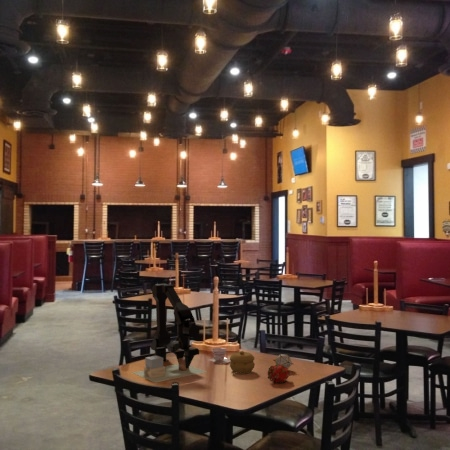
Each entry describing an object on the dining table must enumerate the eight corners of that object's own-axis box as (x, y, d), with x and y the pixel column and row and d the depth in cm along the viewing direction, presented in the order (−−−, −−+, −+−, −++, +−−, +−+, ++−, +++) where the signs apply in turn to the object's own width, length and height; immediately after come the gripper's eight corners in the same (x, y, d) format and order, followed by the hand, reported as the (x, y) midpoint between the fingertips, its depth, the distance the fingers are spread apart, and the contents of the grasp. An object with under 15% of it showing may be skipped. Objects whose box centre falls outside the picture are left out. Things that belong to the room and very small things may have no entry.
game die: (283, 379, 245) (277, 365, 240) (274, 369, 252) (268, 355, 247) (298, 368, 247) (293, 354, 242) (289, 359, 255) (283, 344, 250)
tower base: (144, 374, 241) (143, 366, 242) (157, 372, 246) (157, 363, 246) (151, 378, 236) (151, 369, 236) (164, 375, 240) (164, 366, 240)
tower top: (145, 366, 241) (145, 357, 242) (156, 364, 245) (156, 355, 245) (151, 368, 237) (151, 359, 237) (163, 366, 240) (163, 357, 240)
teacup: (217, 358, 276) (216, 346, 276) (235, 360, 269) (235, 348, 269) (203, 362, 266) (202, 350, 266) (222, 365, 259) (221, 353, 259)
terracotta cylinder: (176, 369, 251) (176, 358, 251) (185, 367, 254) (185, 357, 254) (182, 371, 247) (182, 360, 247) (191, 369, 250) (190, 359, 250)
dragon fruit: (265, 388, 224) (286, 387, 231) (277, 379, 219) (298, 379, 226) (260, 369, 229) (280, 369, 236) (271, 360, 224) (292, 360, 231)
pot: (250, 368, 252) (250, 347, 252) (258, 374, 241) (257, 352, 241) (227, 370, 249) (226, 349, 250) (233, 376, 238) (233, 354, 238)
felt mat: (131, 373, 246) (131, 372, 246) (182, 364, 263) (182, 363, 263) (154, 383, 228) (154, 382, 228) (207, 372, 245) (207, 371, 245)
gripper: (158, 333, 253) (159, 366, 253) (179, 339, 238) (179, 374, 238) (178, 331, 260) (178, 362, 260) (199, 336, 245) (200, 370, 245)
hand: (183, 367), depth 250 cm, fingers open, 6 cm apart
